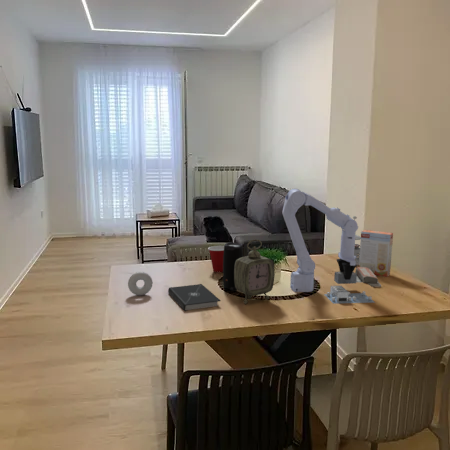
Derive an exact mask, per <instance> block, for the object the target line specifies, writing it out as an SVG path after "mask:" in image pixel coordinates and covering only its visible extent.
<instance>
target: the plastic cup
mask: <svg viewBox="0 0 450 450" xmlns="http://www.w3.org/2000/svg"><path fill="white" fill-rule="evenodd" d="M224 246H225V245H214V246H209V247H208V248H207V250H208V251H209V255H210V260H211V261H210V262H211V265H212V271H213V272H215V273H223V254H224Z"/></svg>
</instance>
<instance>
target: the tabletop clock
mask: <svg viewBox="0 0 450 450" xmlns="http://www.w3.org/2000/svg"><path fill="white" fill-rule="evenodd" d="M253 242H259V243H260V244H259V246H258V247H257V246H255V245H254V246H253V247H252V248H251V247H249V245H250V244H251V243H253ZM262 245H263V243H262V241H261V240H260V239H257V238H256V239H255V238H254V239H251V240H250V241H248V243H247V245H246V246H247V249H248V250H250V251H249V252H248V254H247V255H246V256H243V257H241V258H239V259H237V260H236V262H235V268H234V282H235V287H236V290H238V292H240V293H242V294H244V295H245V296H244V300H243V304H245V305H246V304H248V300H247V299H252V296H260V295H264V299H265V300H269V299H270V296H269V295H267V293H269V292H271V291H272V290H273V287H274V285H275V284H274V283H275V263H274V259H271V258H268V257H265V256H262V255H261V252H260V251H258V250H259V249H260V248H262Z"/></svg>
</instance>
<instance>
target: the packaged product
mask: <svg viewBox="0 0 450 450" xmlns="http://www.w3.org/2000/svg"><path fill="white" fill-rule="evenodd" d="M354 273H356V274H357V279H356V283H355V284H357V283H362V284H367V285H369V286H370V287H373V288H381V287H382V284H381V283H380V282H379V279H378V276H377V275H374V273H373V272H372V271H371V269H370V268H367V267H359V266H356V267H355V272H354Z"/></svg>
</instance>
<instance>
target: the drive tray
mask: <svg viewBox="0 0 450 450" xmlns="http://www.w3.org/2000/svg"><path fill="white" fill-rule="evenodd" d="M348 292H349V294H348V302H336V301H335V297H331V296H330V292H329V291H328V292H326V293H324V294H323V295H324V296H325V297H326V298H327V299H328V301H330V302H331V303H332V304H335V305H336V304H361V303H362V304H365V303H366V304H367V303H375V301H374V300H373V299H372V296H371V295H370V296H368V295H367V294H366V291H365V290H363V291H362V292H358V293H351V291H348Z"/></svg>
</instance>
